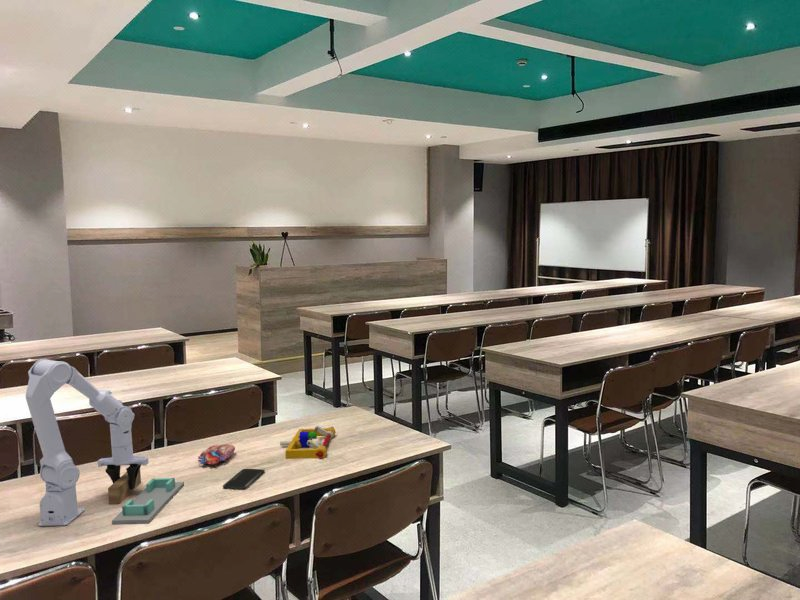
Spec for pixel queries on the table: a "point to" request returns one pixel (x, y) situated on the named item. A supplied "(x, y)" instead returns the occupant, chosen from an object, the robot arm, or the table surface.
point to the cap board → (148, 501)
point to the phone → (244, 479)
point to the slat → (121, 488)
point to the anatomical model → (216, 454)
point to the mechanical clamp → (308, 443)
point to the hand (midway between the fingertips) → (125, 488)
